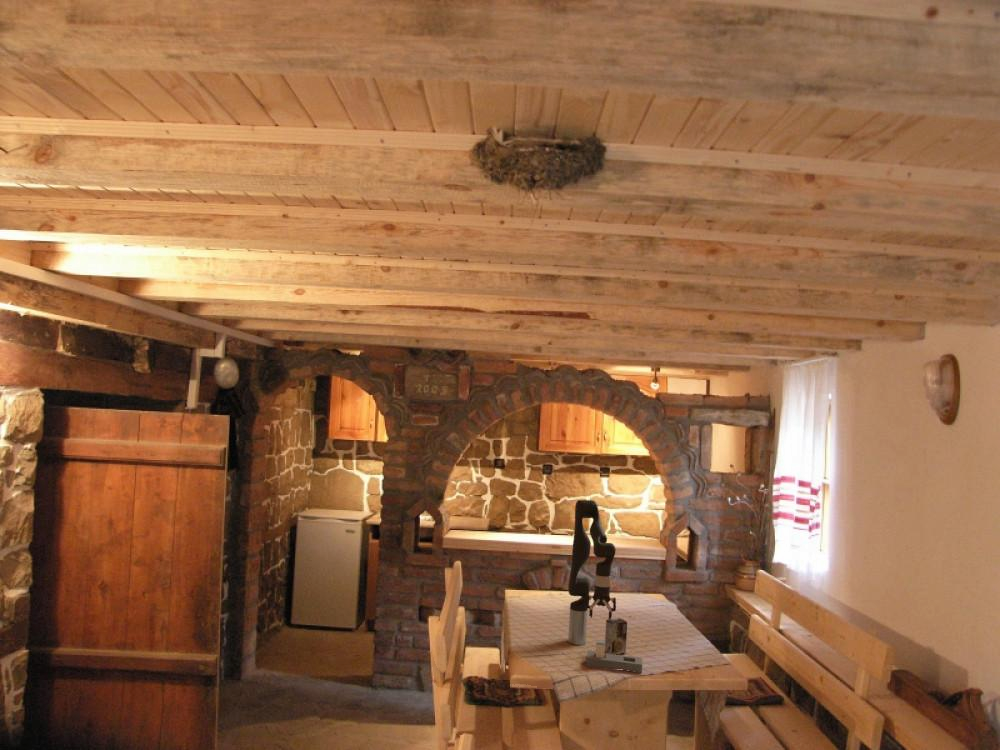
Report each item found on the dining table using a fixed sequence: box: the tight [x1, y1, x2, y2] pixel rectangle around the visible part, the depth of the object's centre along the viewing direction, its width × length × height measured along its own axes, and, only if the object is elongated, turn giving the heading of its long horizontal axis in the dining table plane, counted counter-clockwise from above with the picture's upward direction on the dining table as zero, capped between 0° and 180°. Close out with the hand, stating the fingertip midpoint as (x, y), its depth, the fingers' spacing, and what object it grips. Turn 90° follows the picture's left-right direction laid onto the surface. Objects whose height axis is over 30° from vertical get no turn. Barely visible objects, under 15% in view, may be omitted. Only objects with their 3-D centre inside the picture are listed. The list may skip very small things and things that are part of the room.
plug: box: [595, 639, 605, 658], centre depth 366 cm, size 4×4×11 cm
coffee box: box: [604, 617, 628, 655], centre depth 385 cm, size 9×6×16 cm
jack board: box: [585, 650, 643, 674], centre depth 364 cm, size 10×26×4 cm, turn 80°
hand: (600, 618), depth 366 cm, fingers open, 8 cm apart
